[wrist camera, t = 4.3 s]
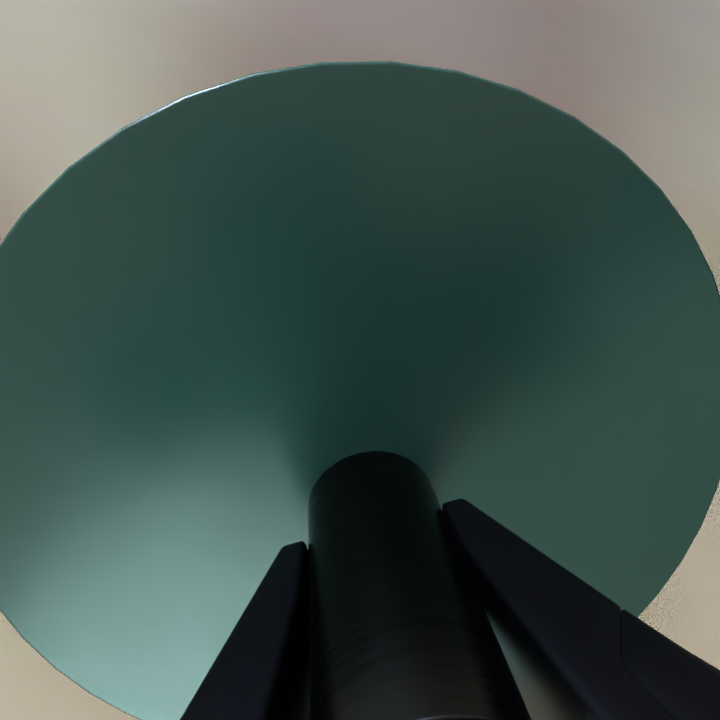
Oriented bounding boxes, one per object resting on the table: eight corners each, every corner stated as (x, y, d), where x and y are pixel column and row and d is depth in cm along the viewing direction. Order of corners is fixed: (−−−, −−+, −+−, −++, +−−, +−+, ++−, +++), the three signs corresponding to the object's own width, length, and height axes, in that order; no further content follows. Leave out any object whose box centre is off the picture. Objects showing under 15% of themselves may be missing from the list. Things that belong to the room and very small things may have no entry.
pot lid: (708, -24, 8) (1725, -553, 2) (686, 625, 14) (959, 937, 8) (-212, 203, 8) (-1739, 248, 2) (159, 771, 13) (50, 1207, 8)
